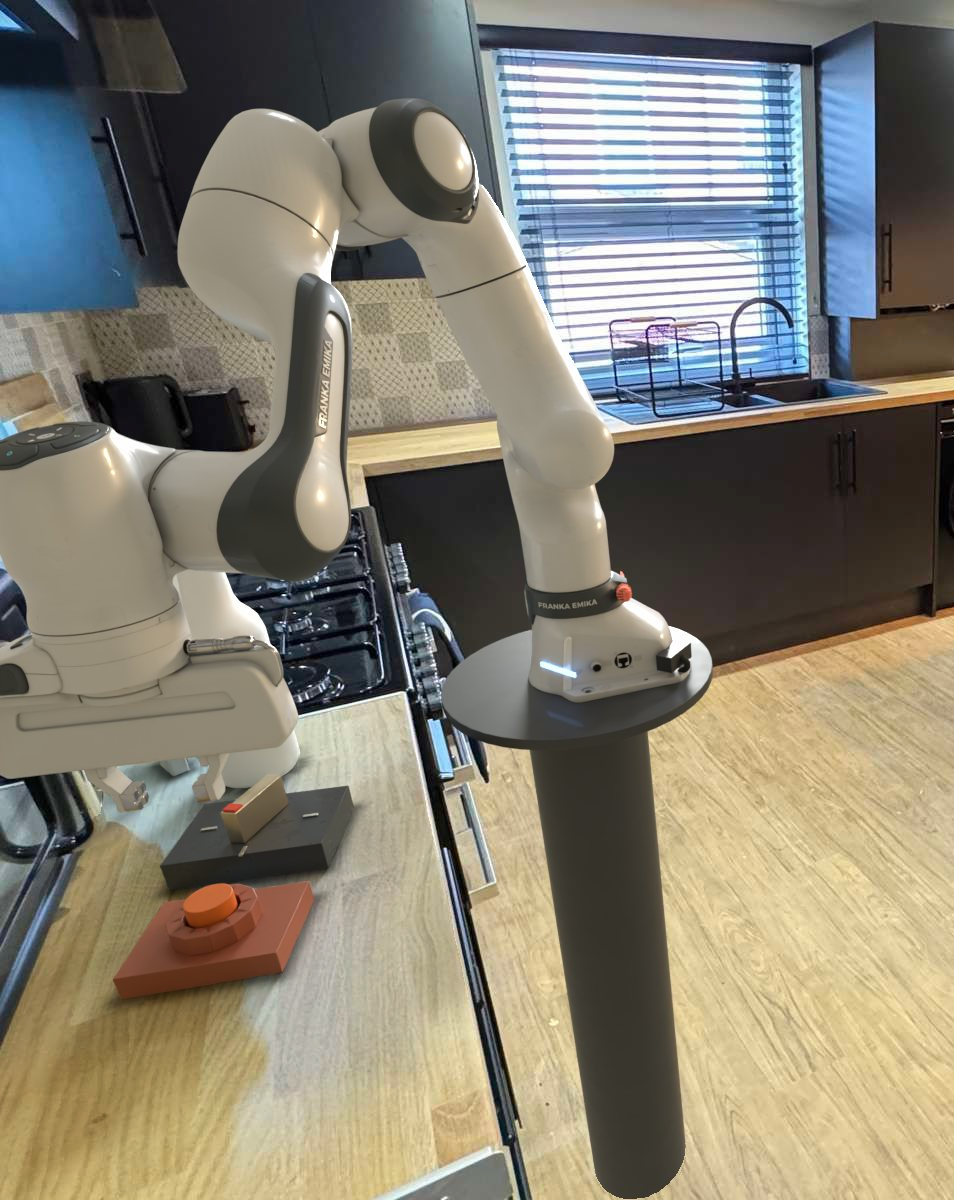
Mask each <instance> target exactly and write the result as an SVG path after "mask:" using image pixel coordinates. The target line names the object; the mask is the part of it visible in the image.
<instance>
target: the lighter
mask: <svg viewBox="0 0 954 1200" xmlns="http://www.w3.org/2000/svg"><path fill="white" fill-rule="evenodd" d="M158 762H159V764H160V765H159V766H161V767H162V768H163V769H164V770H165V771H166V772H167V773H169V774H170V775H171V776H172V777H175V776H178V775H181V774H184V773H186V772H188V771H190V766H189V763H188V760H187V758H183V759H175V760H166V761H158Z"/></svg>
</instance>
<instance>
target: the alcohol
mask: <svg viewBox="0 0 954 1200" xmlns="http://www.w3.org/2000/svg"><path fill="white" fill-rule="evenodd" d="M176 576H177V580H178V585H179V590H180V595H181V599H182V606H183V609H184V613H185V616H186V619H187V622H188V626H189V629H190V632H191V635H192V638H193V640H201V639H225V638H233V637H236V636H253V637H254V638H255V640H260V641H264V642H266V643H268V644H270V645H271V641H270V637H269V634H268V631H267V627H266V625H265V623H264V621H263V619H262V618H261V617H260V615H259V613H258V612H256V610H254V609H252V608H251V607H250V606H248V605H246V604H244V603H243V602H241V601H240V600H239V599H238V598H237V597H236V595H235V593H234V592H233V589H232V587H231V584H230V582H229V578H228V577H227V573H225V572H205V571H193V570H189V569H187V570H185V571H182V572H180V573H177V574H176ZM255 647H262V646H259V645H255ZM300 755H301V750H300V746H299V742H298V739H297V735H296V731H295V729H294V730H293V732H292V733H291V734H290V736H289V737H288V738H287V739H286V741H285V742H284V743H283V744H282V745H281V746H279V747H276V748H269V749H260V750H252V751H243V752H234V753H229V756H228V758H227V761H226V763H225V766H224V768H223V771H222V772H221V775H222V778H223V781H224V784H225V787H227V788H231V789H247V788H248V789H249V788H251V787H252V786H254V785H255V784H256V783H257V782H258V781H260V780H261V779H262V778H263V777H264V776H266V775H281V778H282V777H283V776H285V775H286V774H288V773H289V772H291V771H292V770H293V769H294V767H295V766H296V764H297V762H298V761H299V758H300Z"/></svg>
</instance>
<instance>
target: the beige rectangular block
mask: <svg viewBox="0 0 954 1200" xmlns="http://www.w3.org/2000/svg"><path fill="white" fill-rule="evenodd" d="M286 793H287V792H286V789H285V784H284V782H283V778H282V777H281V775H266V776H264V777H263V778H262V779H261V780H260V781H258V782H257V783H256V784H255V785H254V786H252V787H249V788H248V790H246V791H245V792H244V793H243V794H242V795H240V796H239V797H238V798H236V799H234V800H235V801H234V802H233V803H232V804H231V803H230V804H229V805H228V806H226V807H225V808H224V809H223V811H222V812H221V816H222V819H223V822H224V825H225V828H226V831H227V834H228V837H229V840H230V842H234V843H246V842H247V841H248V840H249V839H250V838H251V837H252V836H253V835H255V834H256V833H257V832H258V831H259V830H260V829H261V828H262V827H263V826H265V825H266V824H267V823H268V822H269V821H270V820H271V819H272V818H273V817H274V816H276V815H277V814H278V813H279V812H280V811H281V810H282V809H283V808H284V807H286V806H287V805H288V804H289V802H288V799H287V795H286Z"/></svg>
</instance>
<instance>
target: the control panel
mask: <svg viewBox="0 0 954 1200" xmlns="http://www.w3.org/2000/svg"><path fill="white" fill-rule="evenodd" d="M351 793H352V792H351V790H350V785H341V786H334V787H333V786H332V787H326V788H318V789H317V788H316V789H310V790H302V791H293V792H286V795H287V799H288V802H289V804H288V805H287V806H286V807H284V808H283V809H282V810H281V811H280V812H279V813H278V814H277V815H276V816H274V817H273V818H272V819H271V820H270V821H269V822H268V823H267V824H266V825H265V826H263V827H262V828H261V829H260V830H259V831H258V832H257V833H256V834H255V835H253V836H252V837H251V838H250V839H249V840H248V841H247V842H246V843H234V842H230V840H229V837H228V834H227V831H226V828H225V825H224V822H223V819H222V816H221V812H222V811H223V809H224V808H225V807H226V806H228V805H229V804H230V803H231V804H232V803H233V802H234V801H235V800H236V799H232V800H231V799H230V800H223V801H215V802H208V803H204V804H203V805H202V806H201V808H200V809H199V810H198V812H197V813H196V815H195V816H194V817H193V819H192V821H190V823H189V824H188V826H187V827H186V828H185V830H184V831H183V833H182V834H181V835H180V837H179V838H178V839H177V841H176V843H175V844H173V847H172V848H171V849H170V851H169V852H168V853H167V855H166V856H165V858H164V859H163V861H162V862H161V863H160V865H159V867H160V870H161V873H162V875H163V877H164V882H165V884H166V886H167V889H168V892H172V891H180V890H186V889H193V888H199V887H206V886H209V885H213V884H227V883H233V882H241V881H247V880H248V881H249V880H254V879H261V878H269V877H274V876H282V875H289V874H295V873H303V872H309V871H310V872H311V871H316V870H323V869H329V867H330V865H331V863H332V860H333V858H334V856H335V853H336V851H337V849H338V847H339V845H340V842H341V840H342V837H343V835H344V833H345V832H346V831H345V830H346V829H347V826H348V824H349V821H350V820H351V817H352V814H353V813H354V811H355V805H354V802H353V798H352V794H351Z"/></svg>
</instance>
